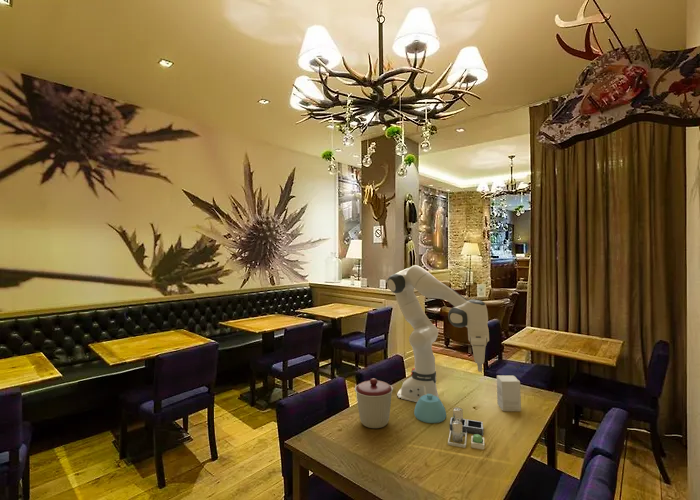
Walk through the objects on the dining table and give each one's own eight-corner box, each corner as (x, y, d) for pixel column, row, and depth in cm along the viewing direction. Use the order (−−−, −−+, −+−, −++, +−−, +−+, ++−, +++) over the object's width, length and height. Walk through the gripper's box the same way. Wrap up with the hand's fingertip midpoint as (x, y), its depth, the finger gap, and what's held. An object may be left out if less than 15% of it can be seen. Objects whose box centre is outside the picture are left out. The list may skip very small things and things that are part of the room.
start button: (473, 444, 144) (473, 437, 144) (473, 439, 147) (473, 433, 147) (482, 445, 143) (482, 439, 143) (482, 441, 146) (482, 434, 146)
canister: (400, 419, 169) (399, 376, 169) (382, 437, 154) (381, 389, 154) (367, 411, 179) (366, 369, 179) (347, 426, 164) (347, 381, 164)
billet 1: (453, 428, 158) (452, 410, 158) (454, 424, 162) (453, 406, 162) (462, 430, 156) (462, 411, 156) (463, 425, 160) (462, 407, 160)
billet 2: (452, 443, 147) (451, 424, 147) (453, 438, 151) (452, 419, 151) (462, 445, 146) (461, 425, 146) (462, 440, 150) (462, 421, 150)
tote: (447, 447, 145) (447, 442, 145) (450, 435, 154) (450, 430, 154) (465, 450, 143) (465, 445, 143) (467, 438, 152) (466, 433, 152)
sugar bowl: (447, 427, 162) (446, 402, 161) (414, 424, 165) (413, 400, 164) (445, 412, 176) (444, 389, 176) (414, 410, 179) (414, 387, 179)
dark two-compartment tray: (449, 432, 157) (449, 424, 157) (451, 424, 164) (450, 416, 164) (483, 438, 152) (483, 429, 151) (483, 429, 159) (483, 421, 159)
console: (471, 450, 143) (470, 442, 143) (471, 442, 148) (471, 435, 148) (484, 452, 141) (484, 445, 141) (484, 444, 147) (484, 437, 147)
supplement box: (514, 403, 184) (514, 375, 184) (521, 411, 175) (520, 381, 175) (496, 403, 185) (496, 374, 185) (502, 411, 176) (501, 381, 176)
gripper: (471, 331, 168) (473, 360, 168) (470, 341, 149) (472, 374, 149) (485, 331, 166) (487, 361, 166) (486, 342, 147) (488, 375, 147)
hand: (480, 367), depth 157 cm, fingers open, 8 cm apart
